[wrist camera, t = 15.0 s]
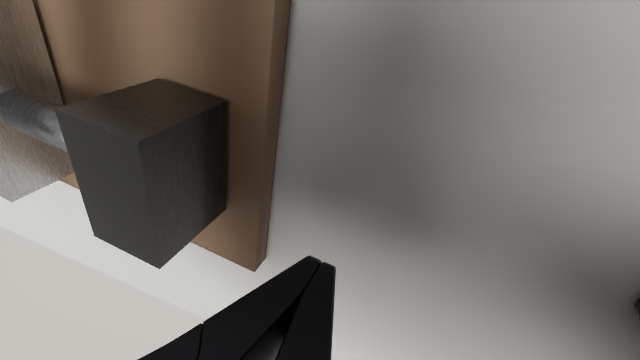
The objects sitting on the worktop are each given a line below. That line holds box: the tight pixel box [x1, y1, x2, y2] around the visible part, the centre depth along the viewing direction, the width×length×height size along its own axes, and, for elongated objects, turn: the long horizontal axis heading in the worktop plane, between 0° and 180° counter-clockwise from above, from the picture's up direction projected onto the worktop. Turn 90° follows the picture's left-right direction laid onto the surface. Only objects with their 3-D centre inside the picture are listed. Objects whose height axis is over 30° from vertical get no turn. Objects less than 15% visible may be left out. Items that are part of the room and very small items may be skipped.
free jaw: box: [0, 0, 227, 269], centre depth 13 cm, size 12×8×4 cm, turn 80°
